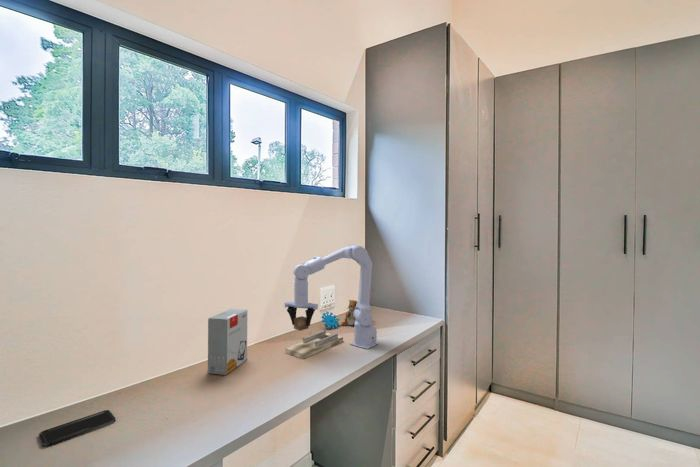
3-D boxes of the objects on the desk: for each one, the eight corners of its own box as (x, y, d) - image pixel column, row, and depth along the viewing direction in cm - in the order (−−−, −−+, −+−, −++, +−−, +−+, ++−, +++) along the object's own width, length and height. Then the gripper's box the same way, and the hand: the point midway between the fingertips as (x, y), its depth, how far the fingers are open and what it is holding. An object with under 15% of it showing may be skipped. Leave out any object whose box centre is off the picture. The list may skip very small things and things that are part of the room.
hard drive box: (226, 376, 123) (226, 319, 122) (207, 374, 124) (206, 318, 124) (248, 359, 138) (247, 308, 137) (230, 357, 140) (230, 307, 139)
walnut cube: (308, 328, 148) (308, 318, 148) (300, 330, 145) (300, 320, 145) (302, 326, 151) (302, 316, 151) (293, 328, 148) (293, 318, 148)
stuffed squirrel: (339, 326, 182) (339, 301, 182) (352, 319, 194) (352, 296, 194) (356, 329, 177) (356, 303, 177) (368, 322, 190) (368, 297, 189)
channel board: (343, 341, 159) (343, 332, 158) (302, 358, 138) (302, 348, 138) (326, 337, 165) (326, 328, 165) (285, 353, 144) (285, 343, 144)
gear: (326, 328, 173) (320, 311, 179) (320, 334, 176) (314, 317, 182) (344, 327, 179) (337, 310, 185) (338, 333, 183) (332, 317, 189)
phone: (38, 432, 88) (108, 409, 100) (38, 436, 88) (108, 412, 100) (43, 446, 83) (116, 419, 94) (43, 450, 83) (116, 423, 94)
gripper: (320, 292, 150) (320, 323, 150) (289, 290, 154) (289, 321, 154) (314, 295, 143) (314, 328, 143) (282, 293, 147) (282, 325, 147)
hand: (301, 325), depth 148 cm, fingers closed on walnut cube, 6 cm apart
